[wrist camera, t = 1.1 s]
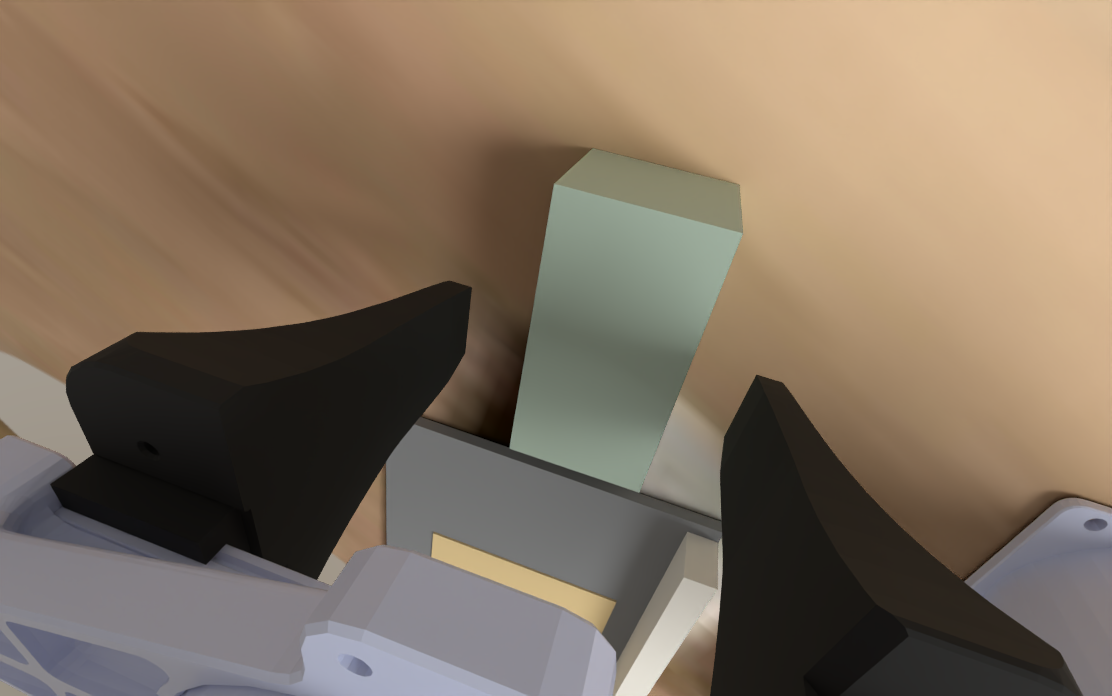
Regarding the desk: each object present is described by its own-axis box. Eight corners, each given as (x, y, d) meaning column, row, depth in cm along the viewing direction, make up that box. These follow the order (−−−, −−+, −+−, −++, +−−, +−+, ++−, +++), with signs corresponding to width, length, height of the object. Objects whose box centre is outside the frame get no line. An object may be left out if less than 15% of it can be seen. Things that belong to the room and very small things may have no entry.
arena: (724, 522, 20) (723, 580, 18) (628, 683, 28) (620, 735, 26) (392, 407, 21) (357, 447, 19) (391, 589, 29) (366, 631, 27)
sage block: (739, 183, 14) (743, 233, 10) (655, 408, 18) (639, 493, 15) (594, 146, 14) (554, 183, 11) (547, 374, 19) (509, 448, 15)
